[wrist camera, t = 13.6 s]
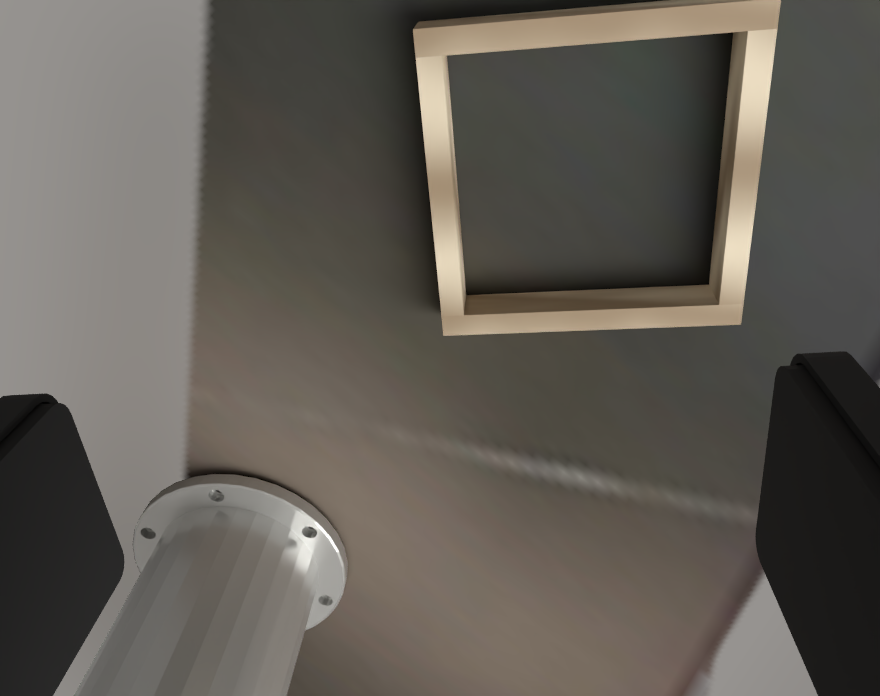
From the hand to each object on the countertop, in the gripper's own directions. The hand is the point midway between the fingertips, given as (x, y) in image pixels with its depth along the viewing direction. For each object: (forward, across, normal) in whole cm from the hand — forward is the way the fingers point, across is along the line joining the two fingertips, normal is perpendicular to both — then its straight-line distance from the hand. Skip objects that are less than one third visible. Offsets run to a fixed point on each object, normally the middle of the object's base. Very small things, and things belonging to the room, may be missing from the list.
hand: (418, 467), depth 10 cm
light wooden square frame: (+24, -5, +3) cm, 25 cm away
